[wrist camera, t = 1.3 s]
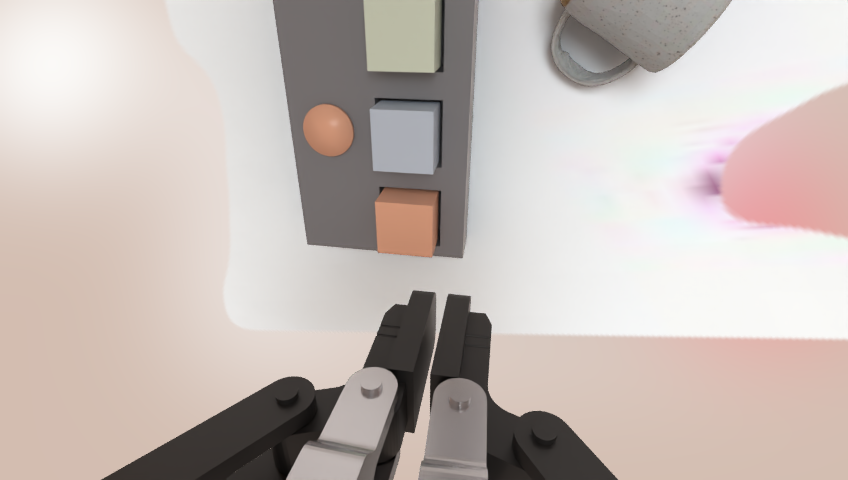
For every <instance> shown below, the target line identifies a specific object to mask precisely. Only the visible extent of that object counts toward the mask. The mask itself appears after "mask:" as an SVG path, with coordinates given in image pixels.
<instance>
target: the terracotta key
mask: <svg viewBox="0 0 848 480" xmlns="http://www.w3.org/2000/svg"><path fill="white" fill-rule="evenodd" d="M438 209H439V191H438V190H423V189H408V188H393V187H385V188H384V189H383V191H382V192H381V194H380V195H379V197H378V198H377V199H376V201H375V213H376V230H377V248H378V253H389V254H400V255H411V256H422V257H432V256H433V253H434V250H435V247H436V244H437V240H438Z"/></svg>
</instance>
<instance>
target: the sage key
mask: <svg viewBox="0 0 848 480" xmlns="http://www.w3.org/2000/svg"><path fill="white" fill-rule="evenodd" d="M363 1H364V19H365V37H366V54H367V71H385V72H423V73H434V72H435V71H436V70H438V69H439V68H440V67H441V34H442V0H363Z"/></svg>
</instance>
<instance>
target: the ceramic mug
mask: <svg viewBox="0 0 848 480" xmlns="http://www.w3.org/2000/svg"><path fill="white" fill-rule="evenodd" d="M560 1H561V4H562V5H563V6H564V8H565V11H564V12H563V14H562V15H561V17H560V19H559V22H558V24H557V26H556V28H555V31H554V34H553V38H552V43H551V50H552V56H553V59H554V62H555V64H556V66H557V67H558V69H559V70H560V71H561V72H562V73H563V74H564V75H565V76H566V77H567V78H569V79H570V80H572V81H573V82H575V83H578V84H580V85H584V86H598V85H604V84H606V83H610V82H612V81H614V80H616V79H618V78H620V77H622V76H623V75H625V74H626V73H628V72H629V71H630V70H632V69H633V68H634V67H635V66H636V65H638V64H639V65H640V66H642V67H643V68H645V69H646V70H647V71H649V72H654V73H656V72H658V71H661V70H663V69H665V68H666V67H668V66H669V65H671V64H672V63H674V62H675V61H676V60H678V59H679V58H680V57H681V56H683V55H684V54H685V53H686V52H687V51H688V50H689V49H690V48H691V47H692V46H693V45H695V43H696V42H697V41H698V40H699V39H700V38H701V37H702V36H703V35H704V34H705V33H706V32H707V31H708V29H709V28H710V27H711V26H712V25H713V24H714V23H715V22H716V20H717V19H718V18H719V17H720V16H721V14H722V13H723V12H724V11H725V9H726V8H727V6H728V5H729V4H730V2H731V1H732V0H560ZM570 16H572V17H573V18H575V19H576V20H577V21H578V22H580V23H581V24H583V25H584V26H586V27H587V28H589V29H590V30H592V31H594V32H595V33H597V34H598V35H599V36H601V37H602V38H604V39H605V40H606V41H608V42H609V43H610V44H612V45H613V46H614V47H615V48H617V49H618V50H619V51H621V52H622V53H624V54H625V55H627V56H628V57H629V59H628V60H627V61H626V62H624V63H623V64H621V65H620V66H618V67H616V68H614V69H612V70H610V71H607V72H603V73H592V72H589V71H586V70H585V69H583V68H582V67H581V66H580V65H578V64H577V63H576V62H574V61H573V60H572V59H571V57H570V56H569V53H567V52H564V51H562V48H561V45H560V40H561V38H560V34H561V31H562V29H563V26H564V24H565V22H566V21H567V19H568V18H569V17H570Z"/></svg>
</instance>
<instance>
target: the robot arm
mask: <svg viewBox="0 0 848 480" xmlns="http://www.w3.org/2000/svg"><path fill="white" fill-rule="evenodd" d="M470 304H471V296H464V295H454V294H448V297H447V302H446V306H445V311H444V315H443V320H442V324H441V329H440V333H439V338H438V342H437V347H436V351H435V356H434V360H433V365H432V370H431V374H430V379H431V380H430V421H429V429H428V435H427V442H426V449H425V456H424V460H423V461H422V462H421V466H420V472H419V478H418V480H618V479H617V478H616V477H615V476H614V475H613V474H612V473H611V472H610V471H609V470H608V468H607V467H606V466H605V465H604V464H603V463H602V462H601V461H600V460H599V459H598V458H597V457H596V455H595V454H594V453H593V452H592V451H591V450H590V449H589V448H588V447H587V446H586V445H585V443H584V442H583V441H582V440H581V439H580V438H579V437H578V436H577V435H576V434H575V433H574V431H573V430H572V429H571V428H570V427H569V426H568V425H567V424H566V423H565V422H564V421H563V420H562V419H560V418H559V417H557V416H555V415H553V414H550V413H547V412H542V411H532V412H528V413H525V414H523V415H522V416H521V417H518V416H516V415H514V414H511V413H509V412H507V411H505V410H503V409H502V408H500V407H499V406H498V405H497V404H496V403H495V402H494V401H493V400H492V398H491V397H490V394H489V392H488V373H489V358H490V341H491V328H492V325H491V323H490V321H489V319H488V317H487V315H486V314H484V313H474V312H470ZM435 331H436V293H434V292H424V291H414V290H413V292H412V294H411V297H410V300H409V303H408V305H399V304H395V305H394V306H393V307H392V308H391V309H390V310H388V311H387V312H386V313H385V315H384V318H383V320H382V323H381V327H379V330H378V332H377V336H376V338H375V340H374V343H373V345H372V347H371V350H370V352H369V355H368V357H367V359H366V362H365V364H364V367H363V369H361V370H359V371H357V372H355V373H354V374H353V375H352V376H351V377H350V378H349V379H348V381H347V383H346V384H345V385H343V386H340V387H336V388H329V389H322V390H315V389H314V386H313V384H312V383H311V382H310V381H309V380H307V379H305V378H302V377H286V378H283V379H280V380H277V381H275V382H273V383H272V384H270V385H268V386H267V387H265V388H263V389H261V390H259V391H258V392H256V393H254V394H252V395H250V396H249V397H247V398H245V399H243V400H242V401H240V402H238V403H236V404H235V405H233V406H231V407H229V408H227V409H226V410H224V411H222V412H220V413H219V414H217V415H215V416H213V417H212V418H210V419H208V420H206V421H204V422H203V423H201V424H199V425H197V426H196V427H194V428H192V429H190V430H188V431H187V432H185V433H183V434H182V435H180V436H178V437H176V438H175V439H173V440H171V441H169V442H167V443H165V444H164V445H162V446H160V447H158V448H157V449H155V450H153V451H151V452H150V453H148V454H146V455H144V456H142V457H141V458H139V459H137V460H135V461H134V462H132V463H130V464H128V465H126V466H125V467H123V468H121V469H119V470H118V471H116V472H114V473H112V474H111V475H109V476H107V477H105V478H104V479H102V480H393V478H394V475H395V472H396V468H397V465H398V462H399V458H400V448H401V444H402V441H403V437H404V433H405V432H411V433H414V432H415V427H416V423H417V419H418V414H419V410H420V406H421V401H422V397H423V392H424V388H425V384H426V379H427V375H428V370H429V366H430V362H431V357H432V353H433V349H434V342H435ZM270 448H271V449H270ZM267 450H268V451H267ZM264 452H265V453H264ZM261 454H262V455H261ZM258 456H259V457H258ZM255 458H256V459H255Z"/></svg>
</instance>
